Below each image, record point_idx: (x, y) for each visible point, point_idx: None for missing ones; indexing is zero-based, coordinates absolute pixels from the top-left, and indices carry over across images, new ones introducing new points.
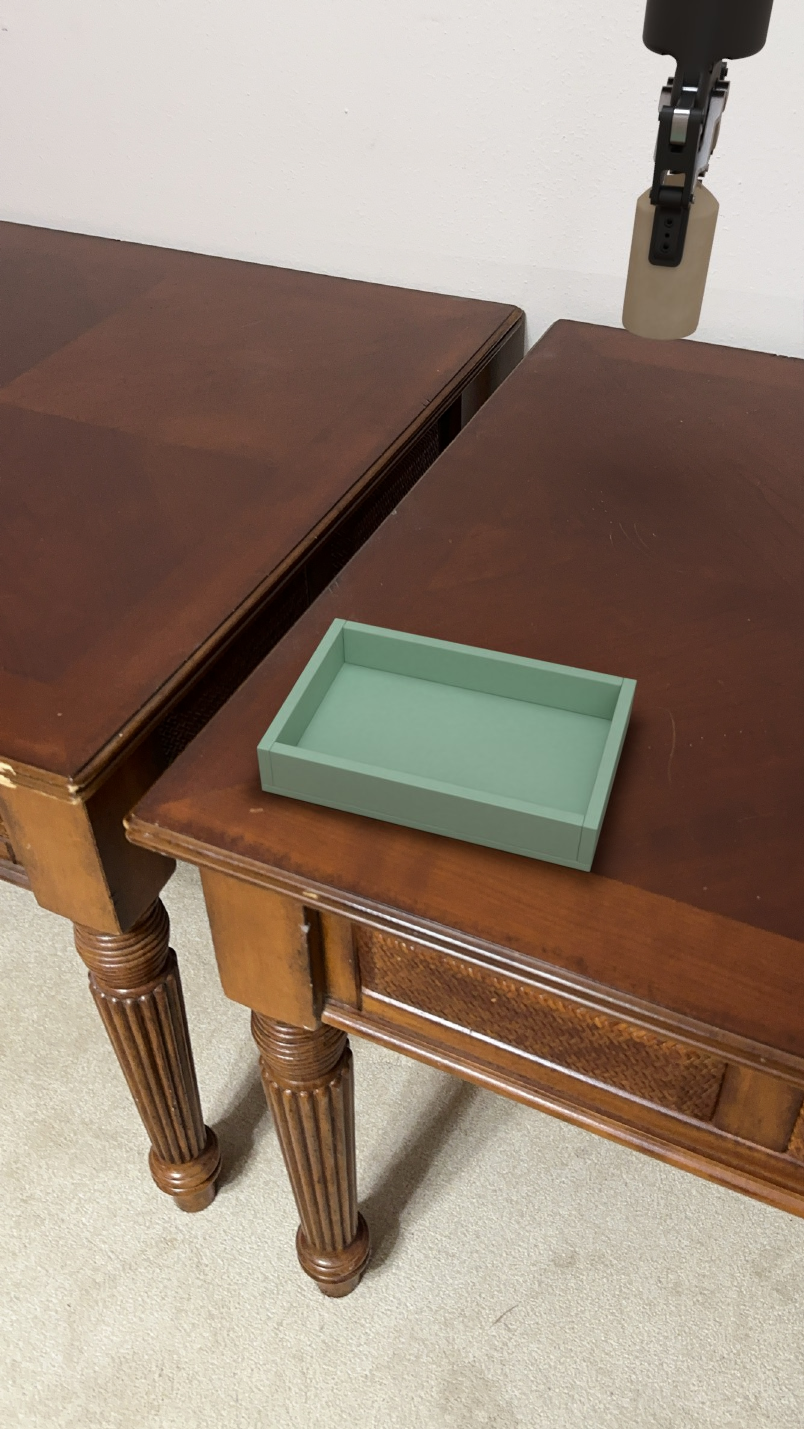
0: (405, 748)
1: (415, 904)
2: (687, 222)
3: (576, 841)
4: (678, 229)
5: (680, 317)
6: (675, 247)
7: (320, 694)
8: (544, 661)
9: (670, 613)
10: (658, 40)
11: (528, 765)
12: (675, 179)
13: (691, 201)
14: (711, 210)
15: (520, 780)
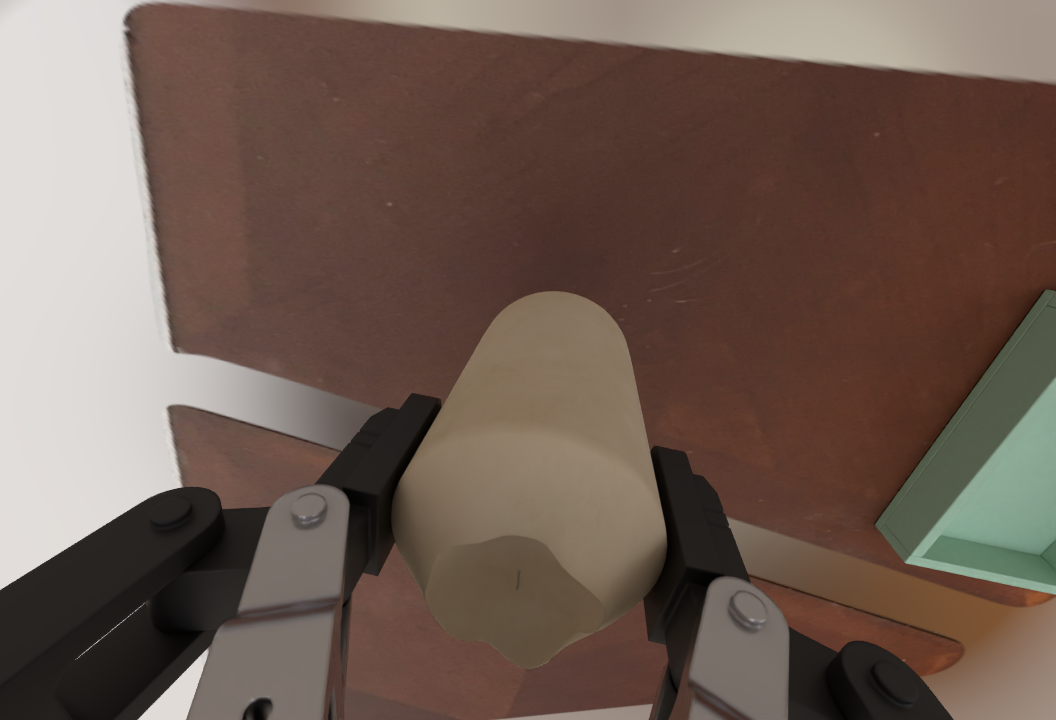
0: (1035, 480)
1: None
2: (707, 536)
3: None
4: (737, 551)
5: (627, 352)
6: (720, 507)
7: (956, 544)
8: (1036, 401)
9: (846, 236)
10: None
11: None
12: (443, 594)
13: (901, 671)
14: (615, 469)
15: None
